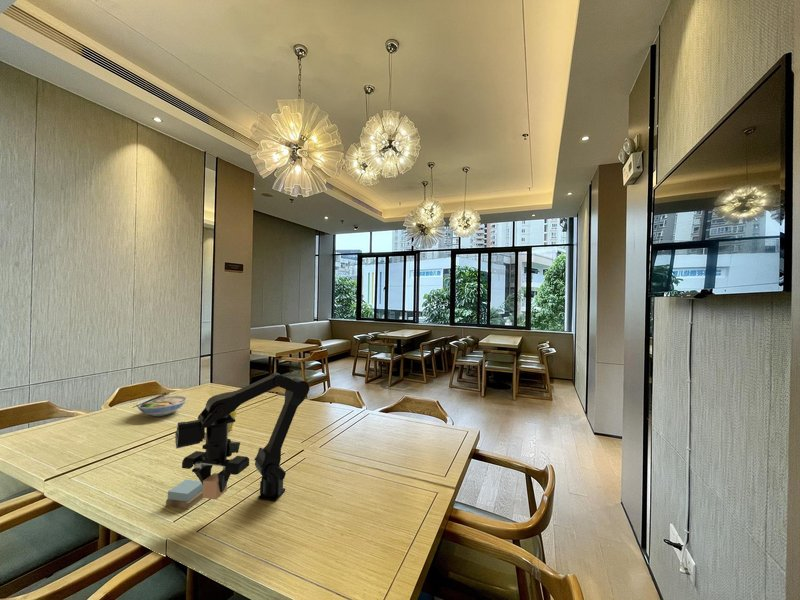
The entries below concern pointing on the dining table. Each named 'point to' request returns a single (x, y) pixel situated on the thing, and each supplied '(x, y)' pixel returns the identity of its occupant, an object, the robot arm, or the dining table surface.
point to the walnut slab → (185, 504)
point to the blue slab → (185, 490)
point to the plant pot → (232, 422)
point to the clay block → (212, 487)
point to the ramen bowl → (161, 404)
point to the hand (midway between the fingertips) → (215, 490)
